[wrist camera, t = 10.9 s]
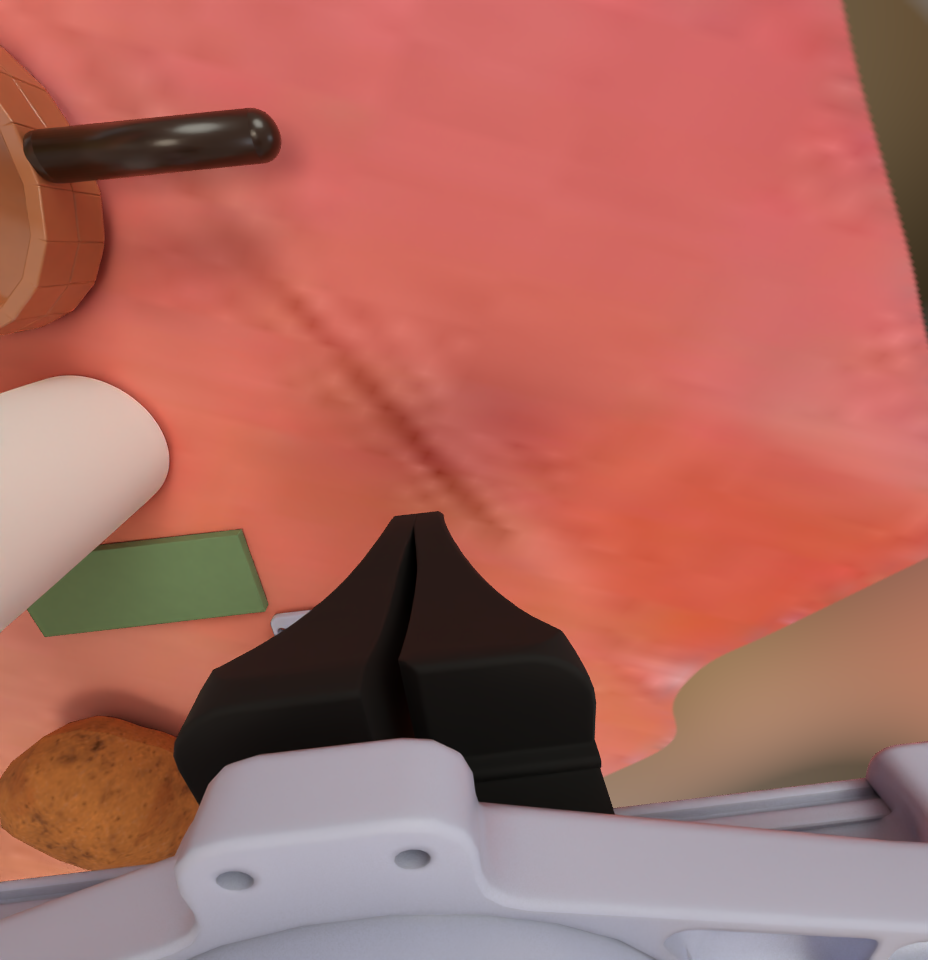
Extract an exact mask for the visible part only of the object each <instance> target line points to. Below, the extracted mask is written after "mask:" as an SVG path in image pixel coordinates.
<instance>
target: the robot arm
mask: <svg viewBox="0 0 928 960" xmlns="http://www.w3.org/2000/svg"><path fill="white" fill-rule="evenodd" d="M271 627H272V630H273V633H274V637H272V638H271V639H269V640H268V641H266V642H264V643H263V644H261V645H259V646H258V647H256V648H254V649H253V650H251V651H249V652H247V653H245V654H243V655H241V656H239V657H238V658H236V659H234V660H232V661H230V662H228V663H226V664H224V665H223V666H221V667H218V668H216V669H214V670H213V671H212V673H211V674H210V676H209V678H208V679H207V681H206V683H205V684H204V686H203V688H202V689H201V691H200V693H199V695H198V697H197V699H196V701H195V703H194V705H193V707H192V709H191V711H190V713H189V715H188V717H187V719H186V720H185V722H184V724H183V726H182V728H181V730H180V732H179V734H178V736H177V738H176V740H175V742H174V753H173V757H174V760H175V762H176V765H177V768H178V770H179V772H180V774H181V775H182V777H183V779H184V781H185V782H186V784H187V786H188V787H189V789H190V791H191V793H192V794H193V796H194V798H195V799H196V801H197V803H198V804H199V808H198V811H197V813H196V815H195V818H194V820H193V822H192V823H191V825H190V826H189V828H188V830H187V832H186V833H185V835H184V837H183V839H182V841H181V843H180V845H179V848H178V850H177V852H176V854H175V856H173V857H170V858H167V859H164V860H162V861H159V862H156V863H153V864H145V865H137V866H129V867H120V868H112V869H104V870H95V871H87V872H79V873H70V874H62V875H54V876H45V877H37V878H29V879H20V880H12V881H4V882H0V960H928V741H925V742H917V743H909V744H900V745H894V746H890V747H886V748H884V749H883V750H881V751H879V752H877V753H876V754H875V755H874V756H873V758H872V759H871V761H870V763H869V765H868V769H867V773H866V778H860V779H853V780H844V781H835V782H827V783H819V784H811V785H802V786H794V787H786V788H778V789H769V790H761V791H753V792H744V793H736V794H727V795H719V796H711V797H703V798H695V799H686V800H677V801H669V802H661V803H653V804H645V805H637V806H628V807H619V808H613V807H612V804H611V801H610V797H609V795H608V791H607V788H606V785H605V782H604V779H603V776H602V773H601V769H600V768H601V758H600V755H599V752H598V749H597V745H596V742H595V739H594V738H595V715H596V699H595V692H594V688H593V685H592V682H591V680H590V677H589V675H588V673H587V671H586V669H585V667H584V665H583V664H582V662H581V660H580V658H579V656H578V655H577V653H576V651H575V650H574V648H573V647H572V645H571V644H570V642H569V641H568V639H567V638H566V636H565V635H564V633H563V632H562V631H561V630H559V629H557V628H555V627H553V626H551V625H549V624H547V623H545V622H543V621H541V620H539V619H537V618H535V617H533V616H531V615H529V614H528V613H526V612H524V611H523V610H521V609H519V608H518V607H517V606H515V605H514V604H513V603H511V602H510V601H509V600H507V599H506V598H505V597H503V596H502V595H501V594H499V593H498V592H497V591H496V590H495V589H494V588H493V587H492V586H491V585H489V584H488V583H487V582H486V581H485V580H484V579H483V578H482V577H481V576H480V574H479V573H478V572H477V571H476V570H475V569H474V568H473V566H472V565H471V564H470V563H469V561H468V560H467V559H466V558H465V556H464V555H463V554H462V552H461V551H460V549H459V548H458V546H457V544H456V543H455V541H454V540H453V538H452V536H451V534H450V532H449V530H448V528H447V526H446V524H445V521H444V515H443V514H442V513H441V512H439V511H436V512H427V513H418V514H410V515H401V516H394V517H393V519H392V520H391V521H390V523H389V524H388V526H387V527H386V528H385V530H384V531H383V533H382V534H381V536H380V537H379V539H378V540H377V541H376V543H375V544H374V545H373V547H372V548H371V549H370V551H369V552H368V553H367V555H366V556H365V557H364V559H363V560H362V561H361V562H360V563H359V565H358V566H357V567H356V568H355V569H354V570H353V571H352V573H351V574H350V575H349V576H348V577H347V578H346V579H345V580H344V581H343V582H342V583H341V584H340V585H339V586H338V587H337V588H336V589H335V590H334V591H333V592H332V593H331V594H330V595H329V596H328V597H327V598H325V599H324V600H323V601H322V602H321V603H319V604H318V605H317V606H316V607H314V608H313V609H312V610H305V611H297V612H288V613H279V614H276V615H274V616H273V618H272V620H271ZM280 628H284V629H285V630H282V629H280Z"/></svg>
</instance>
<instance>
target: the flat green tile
mask: <svg viewBox="0 0 928 960" xmlns="http://www.w3.org/2000/svg"><path fill="white" fill-rule="evenodd" d="M267 606H268V602H267V599H266V597H265V594H264V591H263V588H262V585H261V582H260V580H259V577H258V574H257V571H256V568H255V565H254V563H253V560H252V557H251V554H250V551H249V549H248V546H247V543H246V540H245V537H244V534H243V532H242V529H238V530H229V531H220V532H211V533H202V534H194V535H185V536H176V537H167V538H158V539H149V540H141V541H132V542H123V543H114V544H105V545H98V546H97V547H96V548H95V549H94V550H93V551H92V552H91V553H89V554H88V555H87V556H86V557H85V558H84V559H83V560H82V561H80V562H79V563H78V564H77V565H76V566H75V567H74V568H73V569H71V570H70V571H69V572H68V573H67V574H66V575H65V576H64V577H62V578H61V579H60V580H59V581H58V582H57V583H56V584H55V585H53V586H52V587H51V588H50V589H49V590H48V591H47V592H46V593H44V594H43V595H42V596H41V597H40V598H39V599H38V600H37V601H35V602H34V603H33V604H32V605H31V606H30V607H29V608H27V610H28V612H29V613H30V615H31V617H32V618H33V620H34V621H35V623H36V624H37V626H38V627H39V629H40V630H41V632H42V634H43V635H44V637H50V636H58V635H67V634H75V633H84V632H93V631H101V630H110V629H119V628H127V627H136V626H145V625H153V624H162V623H171V622H179V621H188V620H197V619H205V618H214V617H223V616H231V615H240V614H248V613H257V612H265V611H266V609H267Z"/></svg>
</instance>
